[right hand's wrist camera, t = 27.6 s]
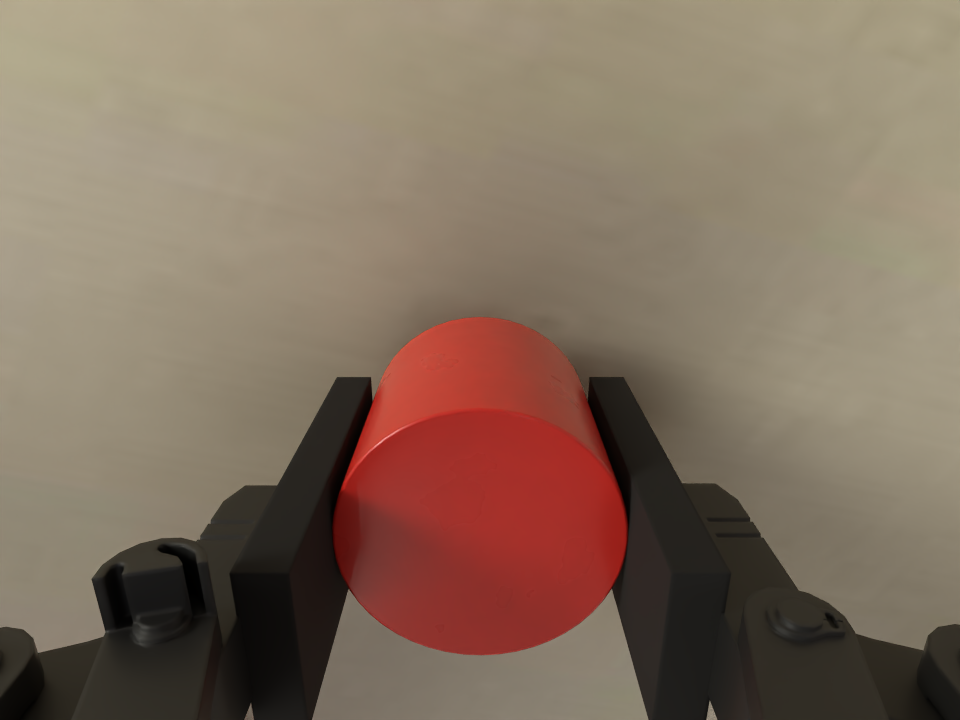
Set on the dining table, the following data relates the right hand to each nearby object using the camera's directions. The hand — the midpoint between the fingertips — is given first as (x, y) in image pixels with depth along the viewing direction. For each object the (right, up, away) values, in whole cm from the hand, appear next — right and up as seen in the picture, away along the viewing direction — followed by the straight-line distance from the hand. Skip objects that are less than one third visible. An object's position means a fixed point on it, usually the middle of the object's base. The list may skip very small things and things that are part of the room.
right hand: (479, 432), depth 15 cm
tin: (0, 0, 0) cm, 0 cm away
